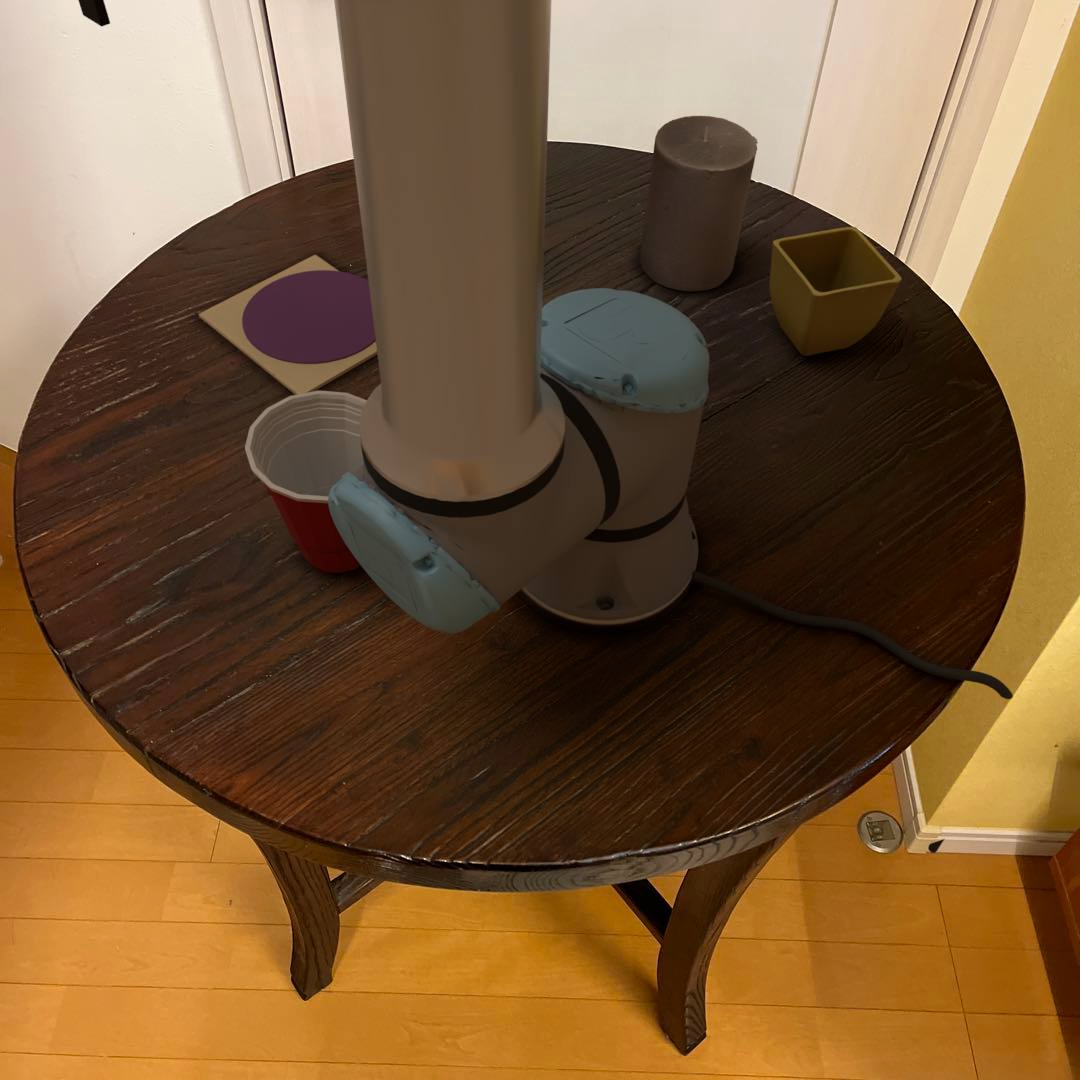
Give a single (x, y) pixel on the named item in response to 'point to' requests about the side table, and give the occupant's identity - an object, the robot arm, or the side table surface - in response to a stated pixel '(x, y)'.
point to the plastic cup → (309, 467)
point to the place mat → (301, 324)
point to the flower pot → (829, 288)
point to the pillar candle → (696, 201)
